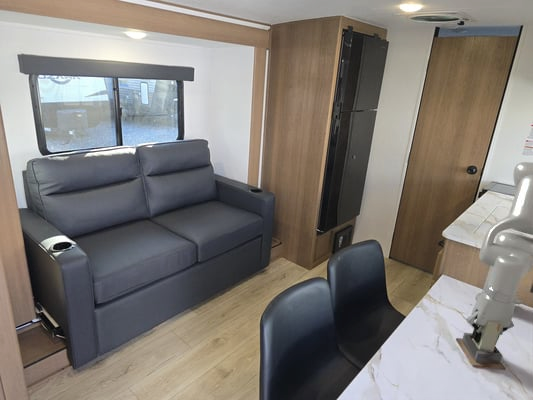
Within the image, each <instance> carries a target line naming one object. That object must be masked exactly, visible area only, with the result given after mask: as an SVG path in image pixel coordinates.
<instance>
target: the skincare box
mask: <svg viewBox="0 0 533 400" xmlns="http://www.w3.org/2000/svg"><path fill="white" fill-rule="evenodd" d="M478 327H479V325H478ZM501 327H502V323H501V322H493V321H488V322H487V324H486V326H484V328H483V329H482V331H481V333H482V335H481V338H480V341H479V343H476V342H475V340H474V339H472V340H473V342H474V343H475V345H476V346H477V348H478V349H479V350H480V351H483V352H492V353H493V351H494V348H495V346H496V345H497V343H496V342H498V341H497V339H498V340H499V338H498V336H499V333H500V330H501ZM499 337H500V336H499Z"/></svg>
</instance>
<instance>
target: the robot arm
mask: <svg viewBox="0 0 533 400" xmlns="http://www.w3.org/2000/svg"><path fill="white" fill-rule="evenodd" d="M513 182H514V187H515V188H514V189H515V191H514V192H515V193H514V194H515V195H514V198H513V200H512V203H511V207H510V210H509V213H508V215H507V216H506V217H504V218H502V219H500V220H498V221H496V222H495V223H493V224H492V225H491V227H489V228H488V229H487V231H486V233H485V235H484V238H483V241H482V244H481V247H480V250H479V253H478V257H479V260H480V262H481V263H482V264H484V265H487V266H490V267H489V270H488V272H487V275H486V279H485V282H484V284H483V288H482V291H481V292H479V293H477V294H476V295H475V300H476V302H475V304H474V306H473V309H472V312H471V314H470V315H469V316H468V317H466V319H465V320H466V322H467V323H468V324H469V325H470V326H472V328H473V331H472V337H473V339H474V340H475V342H476V343H479V341H480V338H481V335H482V333H481V331H482V329H483V328H484V326H486V324H487V322H488V321H493V322H501V323H502V327H501V330H500V333H499V336H498V339H497V342H498V341H499V338H500V336H502V335H503V334H504V333H505V332H506V331H507V330H508V329H512V328H514V327H515V324H514V322H513V321H512V320H513V317H514V312H515V307H516V305H521V304H522V301H521V299H517V298H515V297H519V295H520V293H519V292H518V290H519V288H520V287H519V286H520V284H521V281H522V279H523V277H524V276H525V275H526V274H528V273H529V272H531V270H532V268H533V237H529V236H527V235H530V236H533V162H529V161H524V162H523V161H521V162H519V163H517V164H516V165H515V166H514V169H513ZM510 229H511V230H513V231H516V232H520V233H523V234H526V235H523V234H519V233H515V232H509V231H506V230H510ZM503 231H505V232H503ZM494 240H495V242H494ZM478 325H479V327H478ZM497 342H496V344H498V343H497Z"/></svg>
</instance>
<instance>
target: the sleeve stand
mask: <svg viewBox="0 0 533 400" xmlns="http://www.w3.org/2000/svg"><path fill="white" fill-rule="evenodd" d="M472 333H473V332H472ZM472 333H471V332H464V333H463V336H462V338H459V337H456V338H455V341H456V342H457V344H458V346H459V347H460V349H461V350H462V352H463V354H464V355H465V356H466V359H467V360H468V362H469V363H470V364H471V366H472V367H473V368H474V367H475V368H483V369H495V370H502V371H505V370H506V366H505V365H504V363H503V362H502V361H501V360H502V358H503V354H502V353H501V351H499V349H498V348H497V347H496V345H495V348H494V351H493V353H492V352H483V351H480V350H479V349H478V348H477V346H476V345H475V343H474V342H473V340H472V339H473V337H472Z"/></svg>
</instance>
